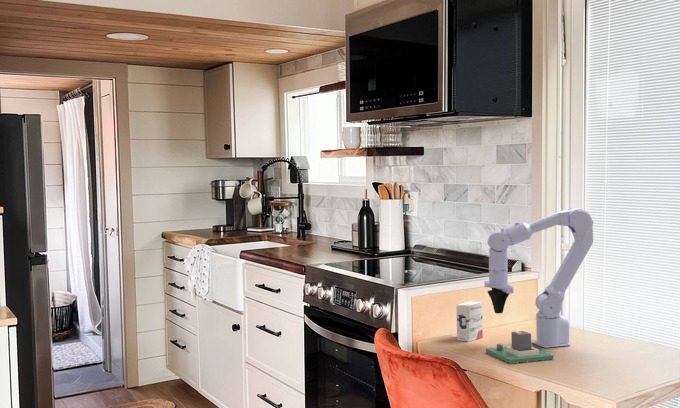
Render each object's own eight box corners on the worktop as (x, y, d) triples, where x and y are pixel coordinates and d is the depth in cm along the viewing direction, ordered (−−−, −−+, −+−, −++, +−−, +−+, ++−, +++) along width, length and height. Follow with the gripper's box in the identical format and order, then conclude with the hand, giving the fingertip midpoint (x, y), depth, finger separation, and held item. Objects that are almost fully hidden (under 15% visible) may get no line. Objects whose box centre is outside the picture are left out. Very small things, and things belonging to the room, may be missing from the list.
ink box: (470, 335, 230) (470, 300, 230) (483, 337, 227) (483, 302, 227) (456, 340, 224) (455, 304, 224) (469, 342, 221) (469, 305, 220)
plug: (523, 351, 203) (523, 329, 203) (531, 354, 199) (531, 332, 199) (511, 352, 202) (511, 330, 202) (519, 355, 198) (518, 333, 198)
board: (526, 348, 211) (526, 339, 211) (553, 359, 198) (553, 349, 198) (486, 352, 207) (485, 343, 207) (510, 364, 194) (510, 354, 194)
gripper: (475, 268, 223) (476, 309, 223) (498, 273, 209) (499, 318, 209) (495, 266, 225) (495, 308, 225) (519, 272, 211) (519, 316, 211)
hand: (498, 312), depth 217 cm, fingers closed
